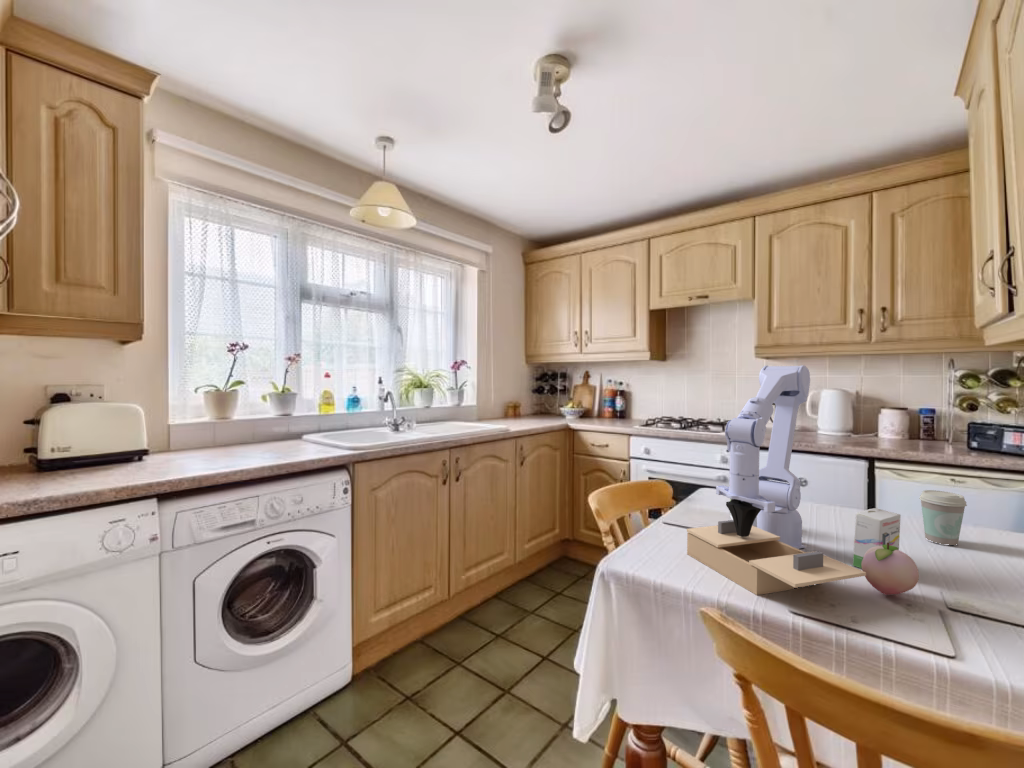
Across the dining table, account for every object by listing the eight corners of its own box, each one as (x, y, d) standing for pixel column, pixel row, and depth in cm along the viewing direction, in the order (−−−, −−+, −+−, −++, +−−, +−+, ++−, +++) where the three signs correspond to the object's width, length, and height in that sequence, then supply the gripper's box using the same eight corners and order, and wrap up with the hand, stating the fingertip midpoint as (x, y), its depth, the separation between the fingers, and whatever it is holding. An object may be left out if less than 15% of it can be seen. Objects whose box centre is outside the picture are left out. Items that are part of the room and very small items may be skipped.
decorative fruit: (917, 613, 79) (919, 556, 79) (858, 597, 85) (859, 544, 84) (918, 594, 86) (920, 541, 86) (864, 580, 91) (865, 531, 91)
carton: (743, 546, 109) (743, 526, 109) (821, 584, 90) (822, 559, 89) (687, 554, 104) (687, 532, 104) (756, 595, 85) (757, 569, 85)
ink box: (872, 558, 102) (873, 506, 102) (900, 567, 98) (901, 513, 97) (851, 566, 98) (852, 512, 98) (879, 575, 94) (881, 519, 93)
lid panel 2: (814, 554, 91) (815, 539, 91) (866, 575, 82) (866, 558, 82) (748, 563, 87) (749, 547, 86) (795, 587, 77) (795, 569, 77)
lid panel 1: (744, 524, 109) (744, 512, 109) (780, 539, 99) (780, 525, 99) (686, 531, 104) (686, 518, 104) (718, 547, 94) (718, 533, 94)
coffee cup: (927, 545, 110) (929, 496, 110) (912, 533, 118) (913, 488, 118) (973, 550, 107) (975, 500, 106) (954, 538, 115) (955, 491, 114)
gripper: (705, 467, 104) (704, 526, 104) (756, 482, 90) (755, 550, 90) (730, 466, 106) (729, 523, 106) (783, 480, 92) (782, 546, 92)
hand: (743, 535), depth 99 cm, fingers closed
